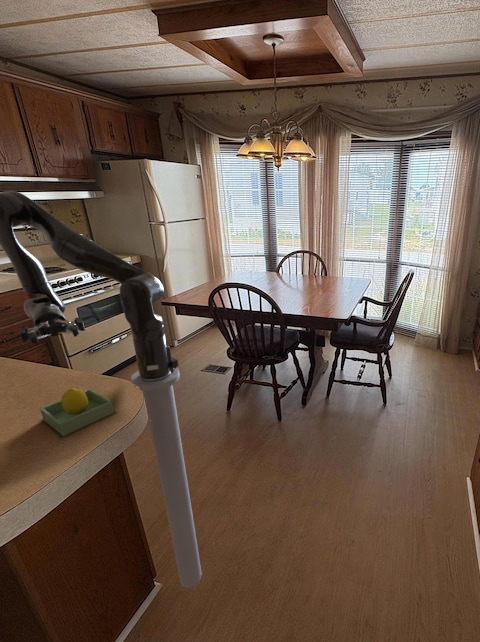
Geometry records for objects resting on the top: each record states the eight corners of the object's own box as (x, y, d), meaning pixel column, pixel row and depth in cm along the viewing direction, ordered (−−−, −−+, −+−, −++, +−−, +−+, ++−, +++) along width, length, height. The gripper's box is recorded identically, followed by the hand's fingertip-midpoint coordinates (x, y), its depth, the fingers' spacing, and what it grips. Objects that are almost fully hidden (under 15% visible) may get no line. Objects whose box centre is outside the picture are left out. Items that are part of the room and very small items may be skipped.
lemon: (67, 411, 92) (60, 385, 89) (92, 406, 95) (85, 381, 91) (64, 422, 88) (56, 396, 85) (89, 417, 90) (82, 391, 87)
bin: (93, 399, 99) (90, 388, 97) (114, 412, 93) (111, 401, 92) (43, 420, 89) (39, 408, 88) (63, 436, 84) (59, 424, 82)
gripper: (14, 313, 97) (16, 329, 86) (75, 304, 105) (84, 318, 94) (23, 337, 100) (26, 356, 88) (81, 327, 108) (90, 343, 97)
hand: (56, 336), depth 91 cm, fingers open, 8 cm apart
